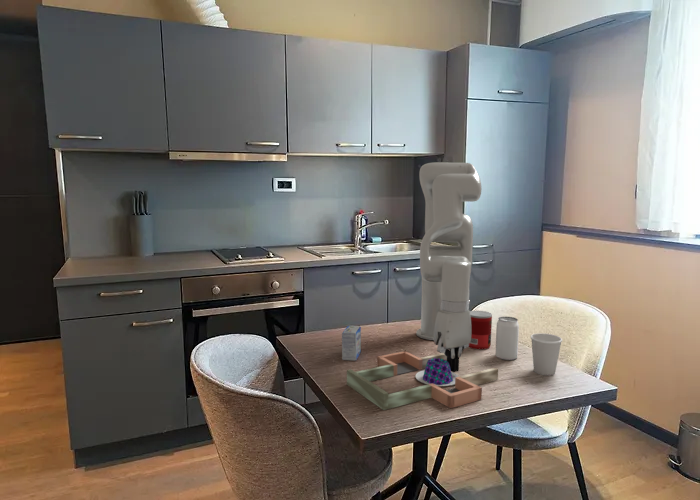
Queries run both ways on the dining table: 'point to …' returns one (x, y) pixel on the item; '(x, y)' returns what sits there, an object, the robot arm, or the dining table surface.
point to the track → (387, 401)
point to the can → (507, 338)
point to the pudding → (437, 373)
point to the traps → (449, 398)
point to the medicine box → (351, 343)
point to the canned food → (480, 329)
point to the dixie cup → (545, 352)
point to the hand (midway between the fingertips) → (452, 370)
